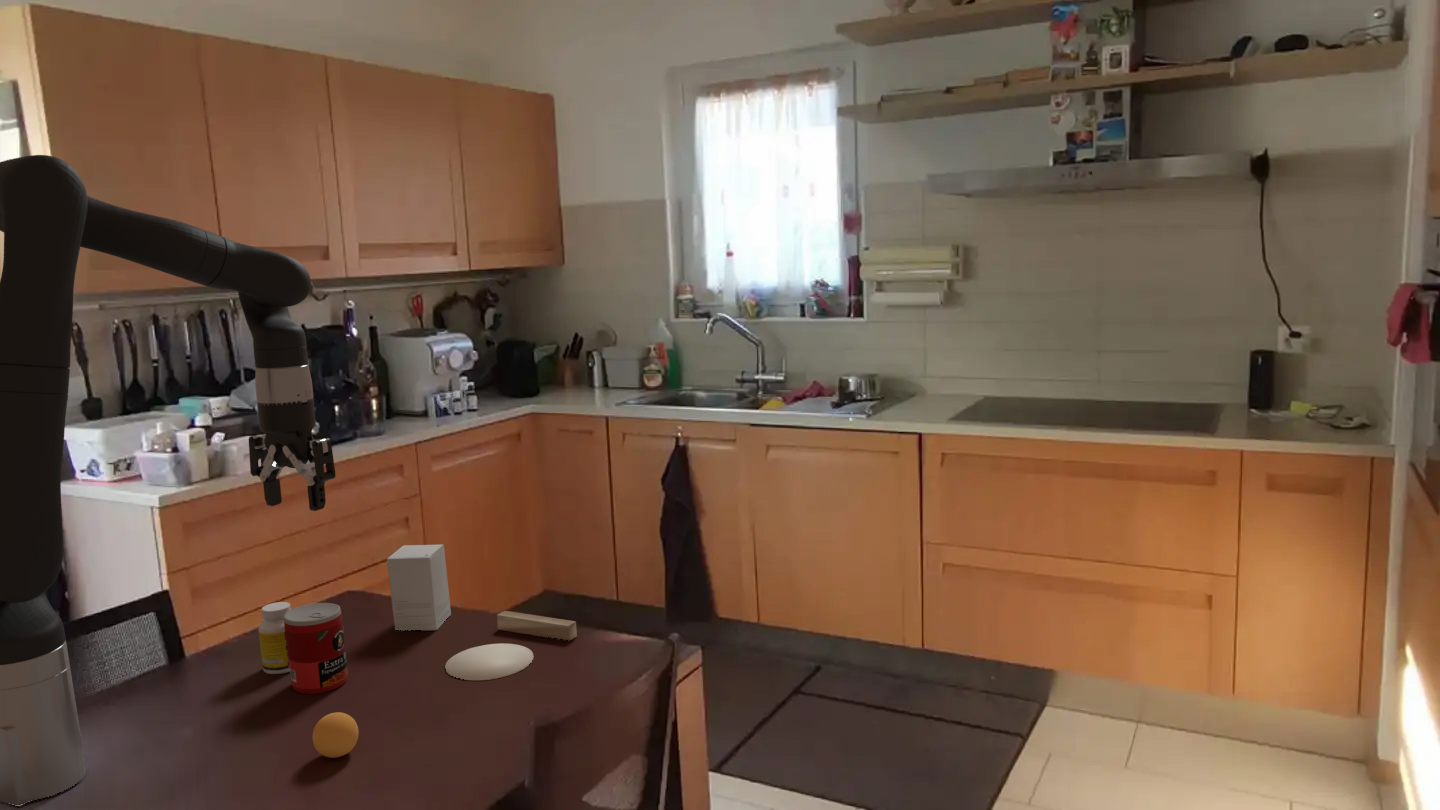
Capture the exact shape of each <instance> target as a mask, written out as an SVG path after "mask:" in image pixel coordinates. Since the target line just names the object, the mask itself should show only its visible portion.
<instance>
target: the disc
mask: <svg viewBox="0 0 1440 810" xmlns="http://www.w3.org/2000/svg"><path fill="white" fill-rule="evenodd" d="M532 660H533V661H534V653H533V651H532V650H531V649H530V648H528V647H526V646H523V645H519V644H514V643H490V644H485V645H479V646H474V647H470V648H467V649H464V650H462V651H460V652H457V654H454V655H453V656H451V657H450V658H449V659H448V660H447V661H446V663H445V666H444V667H445V669H446V670H445V672H446V673H447V674H448V675H449V676H450V677H452V676H453V678H455V677H456V679H458V678H460V680H463V679H464V681H490V680H496V679H499V678H505V677H508V676H511V675H514V674H516V673H519V672H520V671H523V670H524V669H526V668H527V667H529V666H530V665H531V664H530V663H532V662H533V661H532ZM529 664H530V665H529Z"/></svg>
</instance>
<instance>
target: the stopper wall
mask: <svg viewBox="0 0 1440 810" xmlns="http://www.w3.org/2000/svg"><path fill="white" fill-rule="evenodd" d="M496 617H497V618H496V621H497V630H499V631H504V632H505V631H506V632H511V633H516V634H524V635H529V634H530V636H537V637H541V636H542V637H544V638H548V637H549V639H554V638H557V639H556V640H560V639H563V640H562V641H566V640H568V641H567V642H571V641H572V640H574V639H575V638H577V637H578V634H577V633H578V631H577V621H576V620H575V621H574V620H570V619H569V620H567V619H563V618H555V617H550V616H549V617H548V616H543V615H537V614H536V615H535V614H530V613H523V612H516V611H508V610H504V611H501V612H500V613H498V614H496ZM550 637H551V638H550ZM570 640H571V641H570Z"/></svg>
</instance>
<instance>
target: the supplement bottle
mask: <svg viewBox="0 0 1440 810" xmlns="http://www.w3.org/2000/svg"><path fill="white" fill-rule="evenodd" d="M291 609H292V608H291V603H290V602H286V601H280V602H279V601H277V602H272V603H269V604H266V605H264V606H263V607H261V616H262V619H263V620H262V621H261V622H260V623H259V624H258V637H259V638H258V639H259V646H260V655H261V664H262V670H263V672H264V673H265V674H269V675H280V674H281V675H282V674H286V673H290V668H289V660H288V652H287V644H286V636H285V628H284V615H285V613H286V612H288V611H289V610H291Z"/></svg>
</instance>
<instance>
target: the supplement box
mask: <svg viewBox="0 0 1440 810" xmlns="http://www.w3.org/2000/svg"><path fill="white" fill-rule="evenodd" d="M386 563H387V570H388V571H387V572H388V579H389V587H390V596H391V598H390V599H391V607H392V614H393V622H394V623H393V624H394V629H395V630H399V631H398V632H404V631H405V630H406V631H405V632H409V631H411V630H414V631H415V630H421V631H437V630H439V628H440V627H441V626H442V625H443V624H444V623H445V622H446V621H447V620H448V619H449V618H450V617H451V616H452V611H451V610H452V609H451V601H450V593H449V591H450V590H449V583H448V582H449V581H448V571H447V561H446V552H445V545H444V544H441V543H440V544H412V545H411V544H408V545H407V544H405V545H402V546H401V547H400V548H398V549H397V550H396V551H395V552H394V553H392V554H391V555H390V556H388V558H387V557H386ZM449 616H450V617H449ZM448 617H449V618H448ZM447 618H448V619H447ZM446 619H447V620H446ZM444 621H445V622H444ZM395 630H394V631H395ZM400 630H401V631H400ZM407 630H408V631H407Z"/></svg>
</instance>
